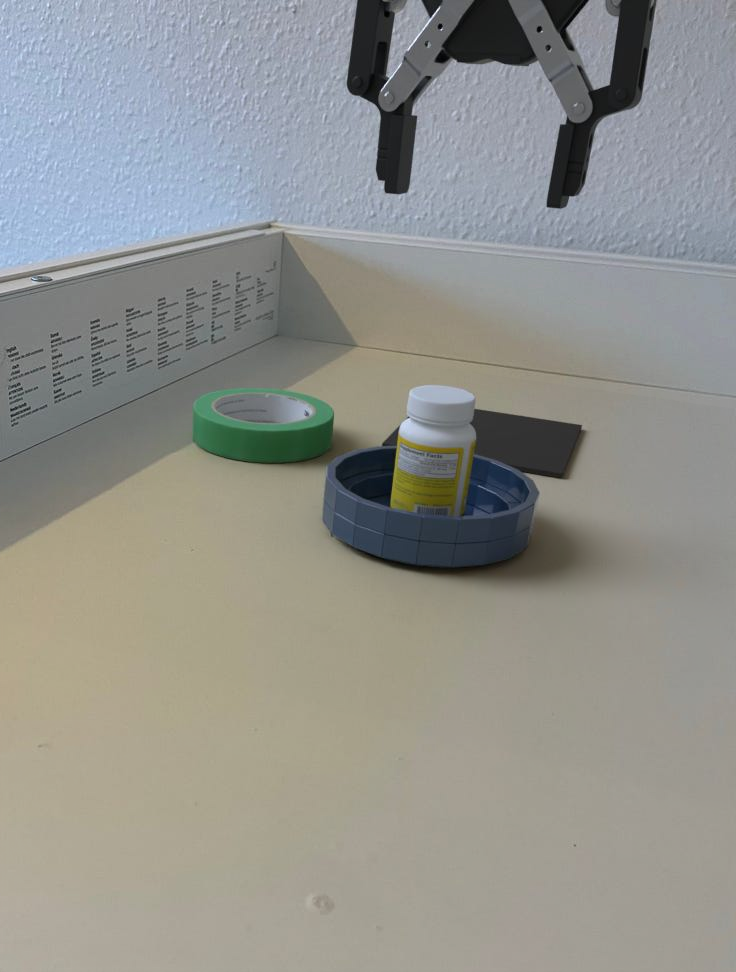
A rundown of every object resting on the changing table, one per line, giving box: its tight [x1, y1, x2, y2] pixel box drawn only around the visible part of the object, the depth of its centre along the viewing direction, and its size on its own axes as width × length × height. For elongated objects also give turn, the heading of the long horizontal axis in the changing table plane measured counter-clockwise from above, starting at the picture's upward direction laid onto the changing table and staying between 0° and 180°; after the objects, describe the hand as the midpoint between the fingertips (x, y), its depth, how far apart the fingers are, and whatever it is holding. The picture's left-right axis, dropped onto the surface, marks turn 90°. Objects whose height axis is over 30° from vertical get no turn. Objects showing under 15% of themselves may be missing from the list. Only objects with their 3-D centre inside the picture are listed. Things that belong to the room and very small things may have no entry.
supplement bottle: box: [390, 384, 476, 516], centre depth 61 cm, size 5×5×8 cm
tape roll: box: [192, 387, 335, 464], centre depth 78 cm, size 11×11×3 cm
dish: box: [321, 445, 540, 569], centre depth 63 cm, size 13×13×4 cm
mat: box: [381, 408, 583, 479], centre depth 82 cm, size 14×14×1 cm
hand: (473, 200), depth 51 cm, fingers open, 8 cm apart
